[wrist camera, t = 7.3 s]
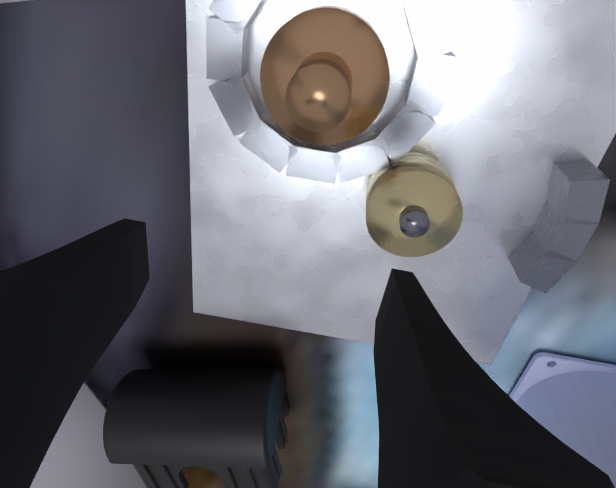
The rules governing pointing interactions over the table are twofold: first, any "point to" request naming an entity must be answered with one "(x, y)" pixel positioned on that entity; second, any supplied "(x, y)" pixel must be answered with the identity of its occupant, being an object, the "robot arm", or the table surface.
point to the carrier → (402, 166)
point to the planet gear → (325, 75)
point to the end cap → (199, 424)
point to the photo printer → (6, 0)
